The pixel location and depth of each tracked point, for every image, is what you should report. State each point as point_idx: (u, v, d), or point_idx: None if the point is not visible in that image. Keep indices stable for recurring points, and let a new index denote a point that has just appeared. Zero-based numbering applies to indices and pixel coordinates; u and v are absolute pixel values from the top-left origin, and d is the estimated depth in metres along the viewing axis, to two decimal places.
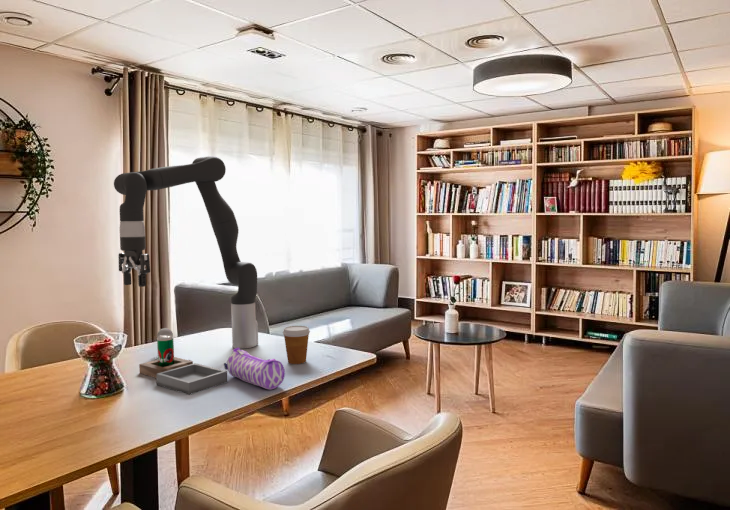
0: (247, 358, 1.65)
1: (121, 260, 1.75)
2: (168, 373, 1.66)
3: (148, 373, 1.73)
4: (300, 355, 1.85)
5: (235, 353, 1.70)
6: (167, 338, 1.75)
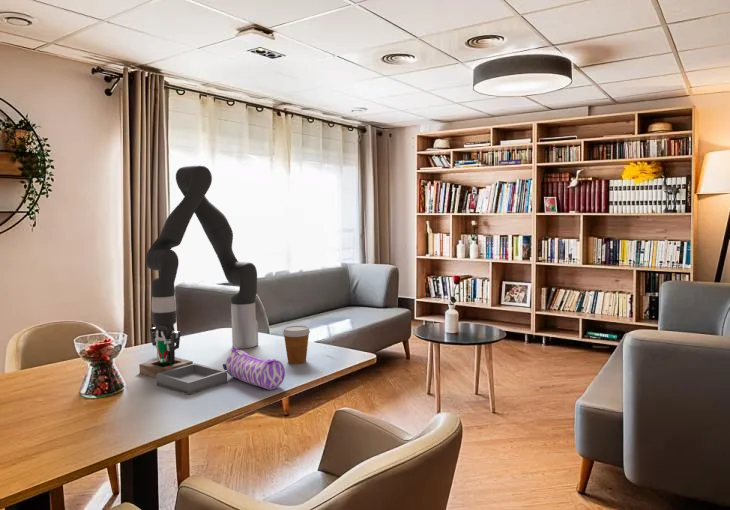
0: (246, 358, 1.64)
1: (153, 334, 1.79)
2: (168, 373, 1.66)
3: (148, 373, 1.73)
4: (300, 355, 1.85)
5: (234, 353, 1.69)
6: None
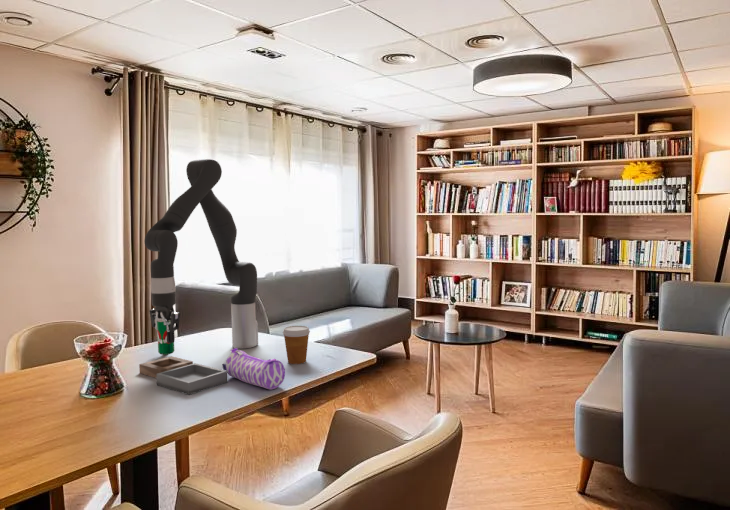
0: (246, 358, 1.64)
1: (153, 316, 1.79)
2: (168, 373, 1.66)
3: (148, 373, 1.73)
4: (300, 355, 1.85)
5: (233, 354, 1.69)
6: None
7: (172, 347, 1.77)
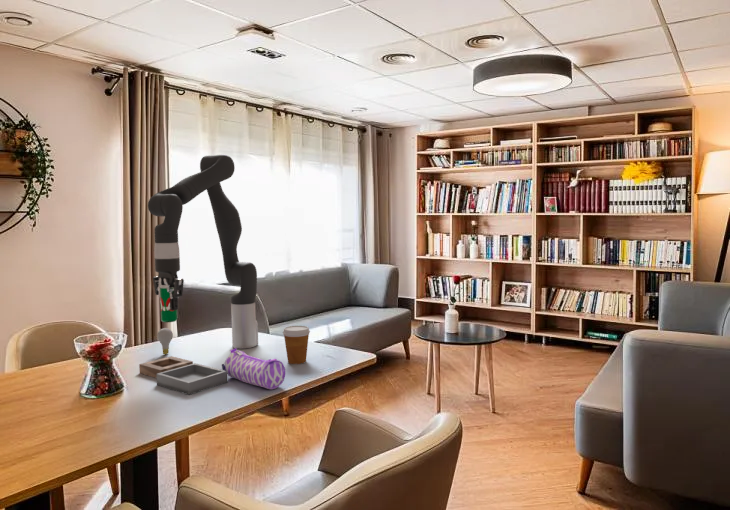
0: (246, 359, 1.64)
1: (156, 283, 1.75)
2: (168, 373, 1.66)
3: (148, 373, 1.73)
4: (300, 355, 1.85)
5: (233, 354, 1.69)
6: None
7: (175, 315, 1.72)
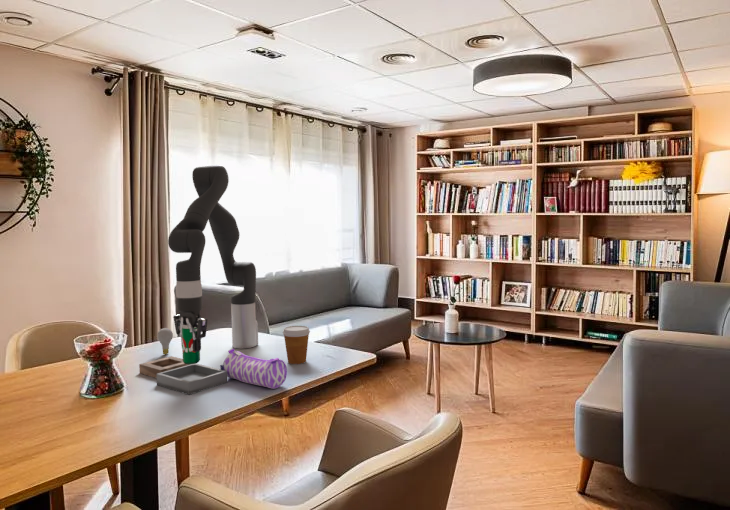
0: (246, 359, 1.64)
1: (177, 322, 1.66)
2: (168, 373, 1.66)
3: (148, 373, 1.73)
4: (300, 355, 1.85)
5: (231, 354, 1.68)
6: None
7: (198, 356, 1.63)
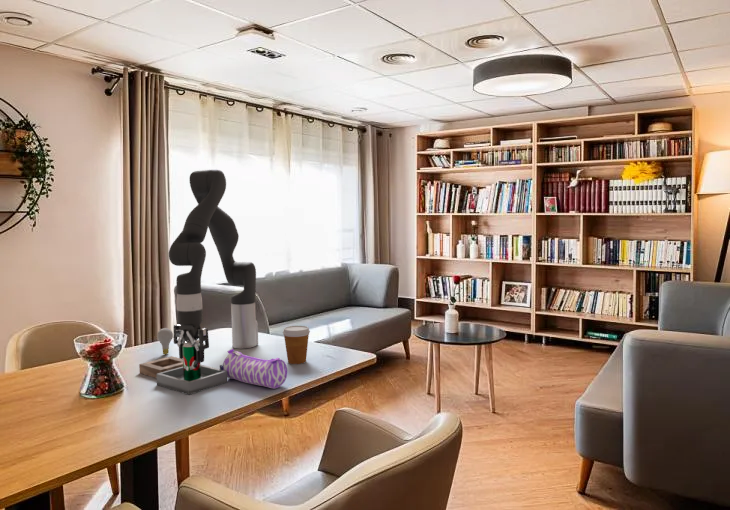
0: (246, 359, 1.64)
1: (176, 332, 1.66)
2: (168, 373, 1.66)
3: (148, 373, 1.73)
4: (300, 355, 1.85)
5: (231, 355, 1.68)
6: None
7: (199, 374, 1.64)
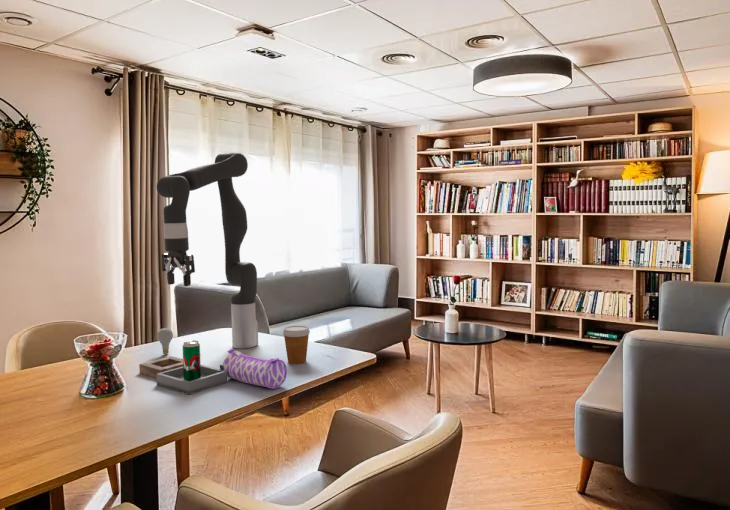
0: (246, 359, 1.64)
1: (164, 260, 1.81)
2: (168, 373, 1.66)
3: (148, 373, 1.73)
4: (300, 355, 1.85)
5: (231, 354, 1.68)
6: (193, 344, 1.62)
7: (199, 374, 1.64)
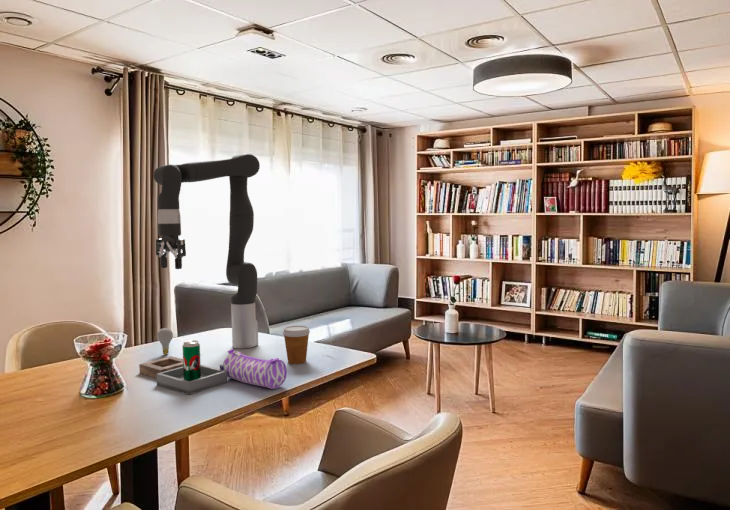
0: (246, 359, 1.64)
1: (158, 245, 1.91)
2: (168, 373, 1.66)
3: (148, 373, 1.73)
4: (300, 355, 1.85)
5: (231, 355, 1.68)
6: (193, 344, 1.62)
7: (199, 374, 1.64)
